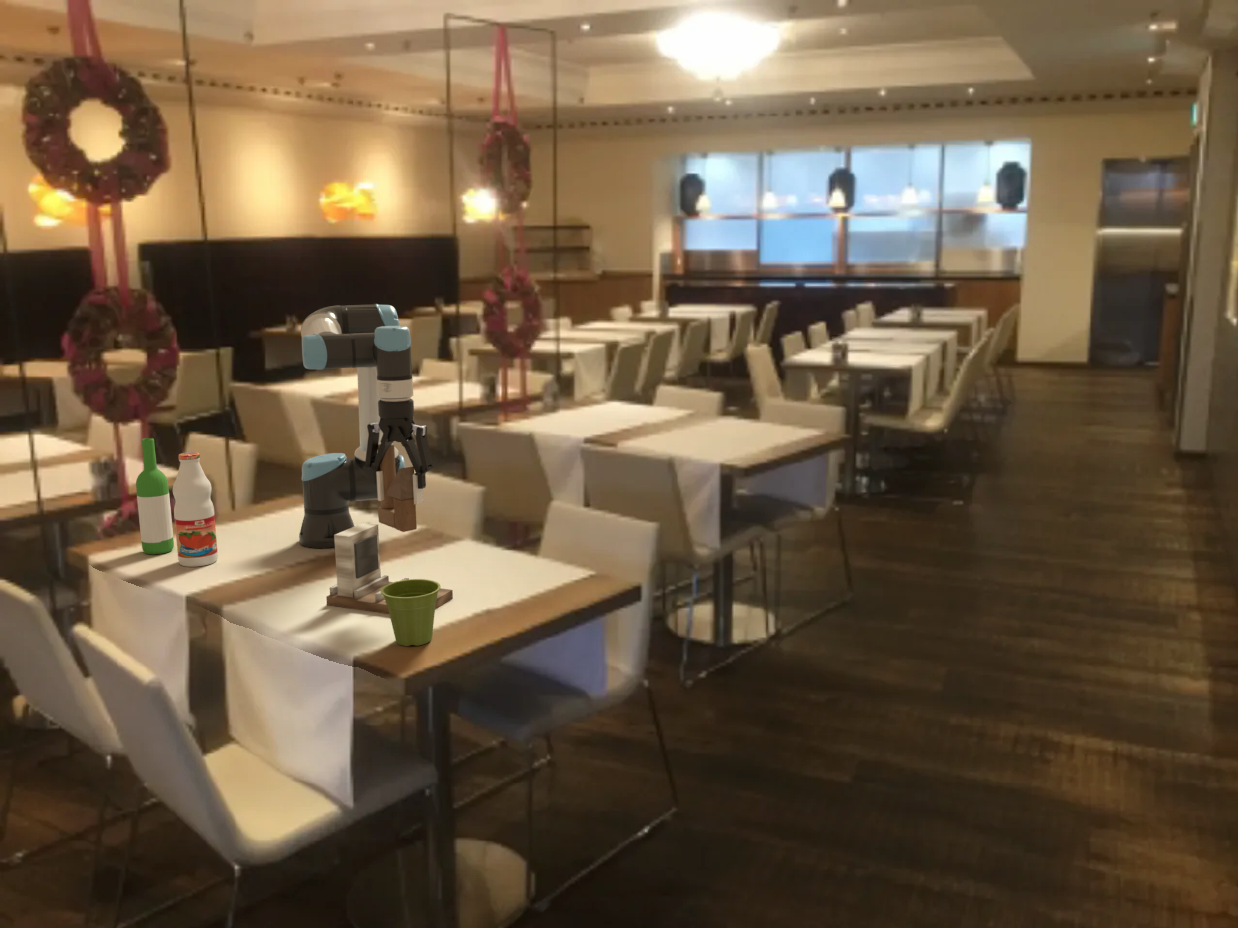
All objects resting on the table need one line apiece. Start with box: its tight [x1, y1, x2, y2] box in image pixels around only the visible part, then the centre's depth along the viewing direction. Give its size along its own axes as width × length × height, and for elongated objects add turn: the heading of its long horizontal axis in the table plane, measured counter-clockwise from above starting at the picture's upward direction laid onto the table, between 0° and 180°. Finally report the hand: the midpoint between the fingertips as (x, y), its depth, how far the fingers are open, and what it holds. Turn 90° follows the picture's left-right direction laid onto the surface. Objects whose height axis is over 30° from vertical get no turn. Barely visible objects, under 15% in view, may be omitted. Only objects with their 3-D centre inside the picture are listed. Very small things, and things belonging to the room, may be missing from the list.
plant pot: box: [381, 578, 441, 647], centre depth 219 cm, size 12×12×11 cm
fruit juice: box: [172, 451, 219, 568], centre depth 273 cm, size 9×9×28 cm
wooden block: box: [377, 442, 417, 533], centre depth 238 cm, size 4×11×18 cm, turn 41°
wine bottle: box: [135, 437, 175, 555], centre depth 282 cm, size 8×8×30 cm
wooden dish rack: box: [325, 522, 454, 615], centre depth 243 cm, size 14×24×16 cm, turn 68°
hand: (400, 501), depth 238 cm, fingers open, 8 cm apart
